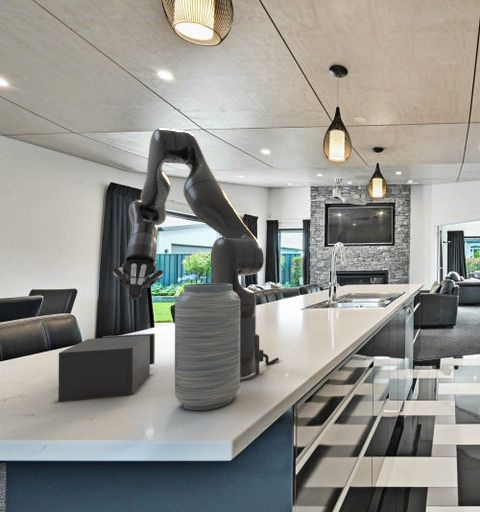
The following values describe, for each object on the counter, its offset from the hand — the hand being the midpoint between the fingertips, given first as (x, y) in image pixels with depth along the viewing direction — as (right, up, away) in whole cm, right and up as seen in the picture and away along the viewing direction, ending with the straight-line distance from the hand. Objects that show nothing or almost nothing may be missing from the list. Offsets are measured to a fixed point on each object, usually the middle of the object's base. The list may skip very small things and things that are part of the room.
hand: (134, 298), depth 108 cm
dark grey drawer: (+6, -16, -13) cm, 21 cm away
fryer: (+9, -17, -23) cm, 30 cm away
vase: (+35, -17, -33) cm, 51 cm away
